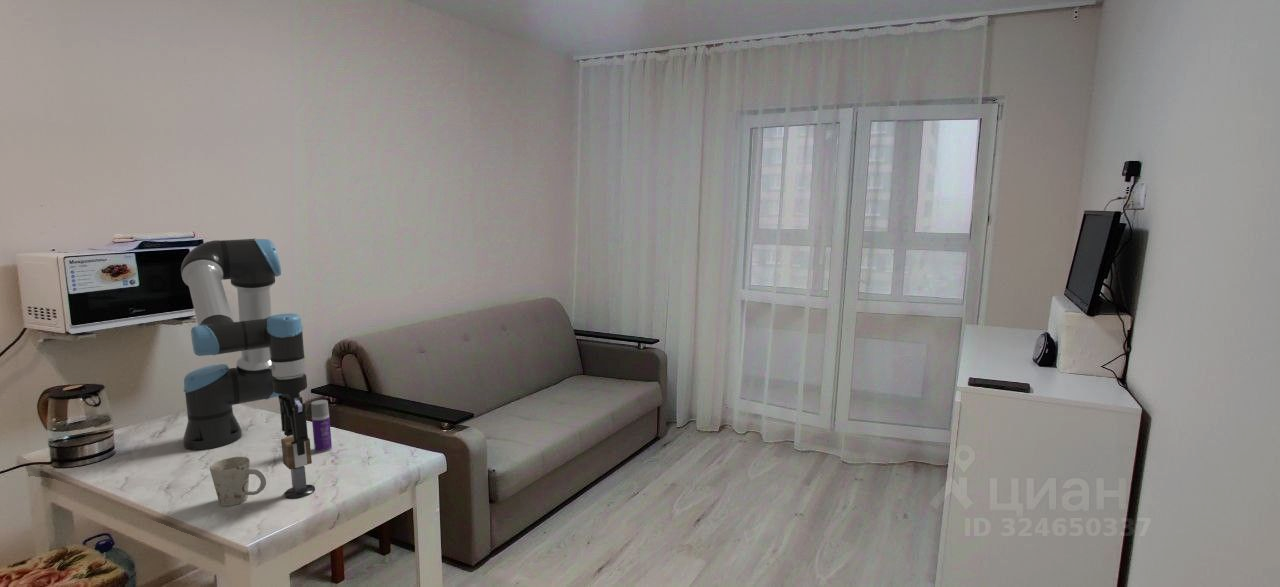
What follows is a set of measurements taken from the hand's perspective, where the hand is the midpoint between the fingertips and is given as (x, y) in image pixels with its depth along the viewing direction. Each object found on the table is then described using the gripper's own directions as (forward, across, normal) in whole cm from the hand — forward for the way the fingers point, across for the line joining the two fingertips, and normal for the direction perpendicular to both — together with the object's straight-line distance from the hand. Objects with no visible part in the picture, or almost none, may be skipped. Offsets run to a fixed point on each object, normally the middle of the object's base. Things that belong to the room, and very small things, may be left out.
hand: (297, 462), depth 159 cm
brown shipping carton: (0, 0, 0) cm, 0 cm away
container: (+8, -25, +14) cm, 30 cm away
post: (+8, 0, 0) cm, 8 cm away
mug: (+8, -6, -12) cm, 16 cm away
